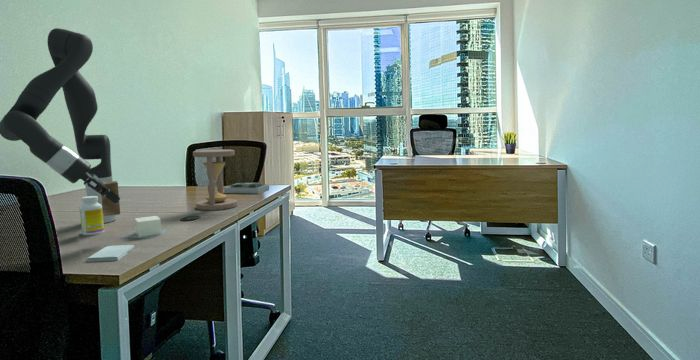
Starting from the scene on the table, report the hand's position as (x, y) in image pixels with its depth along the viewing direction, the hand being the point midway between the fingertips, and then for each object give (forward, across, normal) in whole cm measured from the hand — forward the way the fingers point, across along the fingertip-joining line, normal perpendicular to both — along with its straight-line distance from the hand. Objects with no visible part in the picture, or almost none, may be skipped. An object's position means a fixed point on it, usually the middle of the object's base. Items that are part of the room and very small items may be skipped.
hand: (117, 199), depth 142 cm
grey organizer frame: (+59, +76, -39) cm, 104 cm away
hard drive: (+7, -16, +12) cm, 21 cm away
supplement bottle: (+5, +16, +15) cm, 22 cm away
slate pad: (+16, +4, +4) cm, 16 cm away
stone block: (+59, +73, -38) cm, 102 cm away
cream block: (+16, +3, +3) cm, 16 cm away
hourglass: (+40, +40, -20) cm, 60 cm away
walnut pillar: (+2, 0, +4) cm, 5 cm away
